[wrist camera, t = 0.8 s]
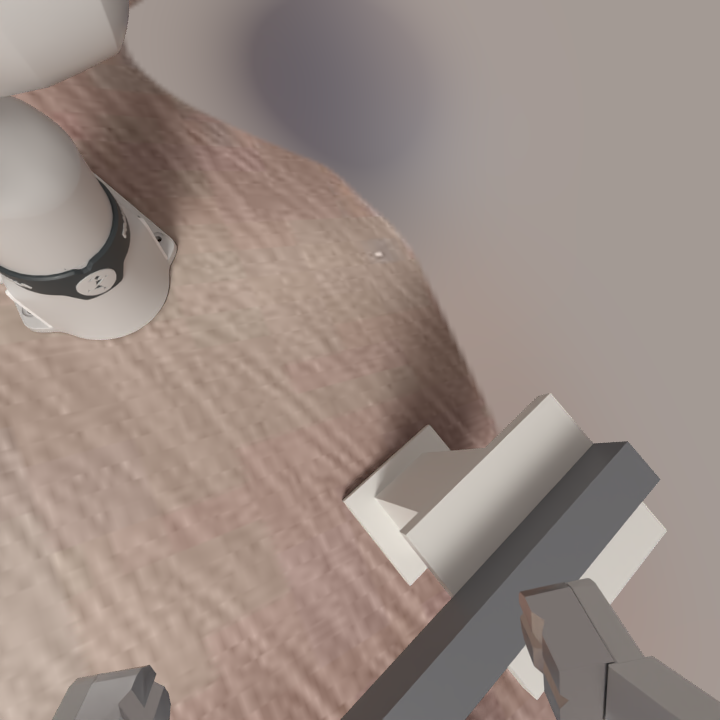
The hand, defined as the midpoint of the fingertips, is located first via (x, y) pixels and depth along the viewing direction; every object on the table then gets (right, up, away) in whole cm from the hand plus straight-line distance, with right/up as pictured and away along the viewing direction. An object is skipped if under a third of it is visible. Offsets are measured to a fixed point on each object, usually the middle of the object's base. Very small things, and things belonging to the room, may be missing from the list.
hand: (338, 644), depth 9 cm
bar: (+9, -8, +16) cm, 20 cm away
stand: (+7, -11, +43) cm, 45 cm away
